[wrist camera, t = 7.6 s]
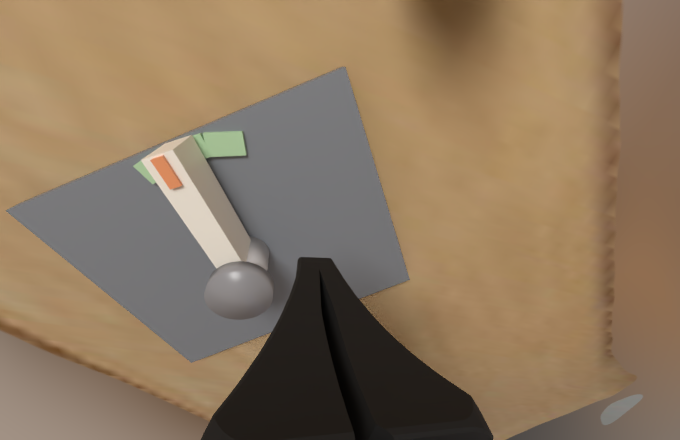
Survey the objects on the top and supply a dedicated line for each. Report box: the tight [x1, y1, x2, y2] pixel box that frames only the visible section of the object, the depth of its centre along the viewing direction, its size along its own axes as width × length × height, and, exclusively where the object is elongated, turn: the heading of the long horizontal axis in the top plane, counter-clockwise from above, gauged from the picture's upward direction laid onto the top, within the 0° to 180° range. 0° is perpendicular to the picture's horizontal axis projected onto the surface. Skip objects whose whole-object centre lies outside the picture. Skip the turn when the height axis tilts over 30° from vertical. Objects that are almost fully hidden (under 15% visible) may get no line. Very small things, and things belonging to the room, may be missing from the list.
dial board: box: [6, 67, 410, 363], centre depth 21 cm, size 18×22×1 cm
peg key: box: [141, 135, 274, 320], centre depth 17 cm, size 11×4×4 cm, turn 15°
